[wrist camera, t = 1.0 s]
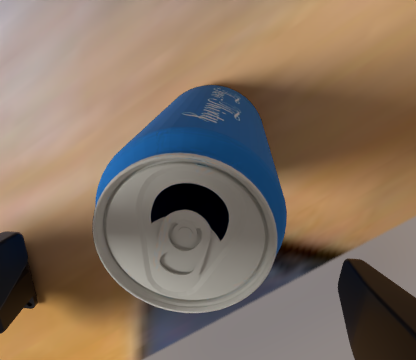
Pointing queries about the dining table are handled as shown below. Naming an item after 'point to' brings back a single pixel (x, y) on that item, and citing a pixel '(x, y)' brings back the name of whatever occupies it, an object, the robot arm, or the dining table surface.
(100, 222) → the beverage can
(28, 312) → the dining table surface
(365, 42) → the dining table surface
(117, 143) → the dining table surface
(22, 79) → the dining table surface
